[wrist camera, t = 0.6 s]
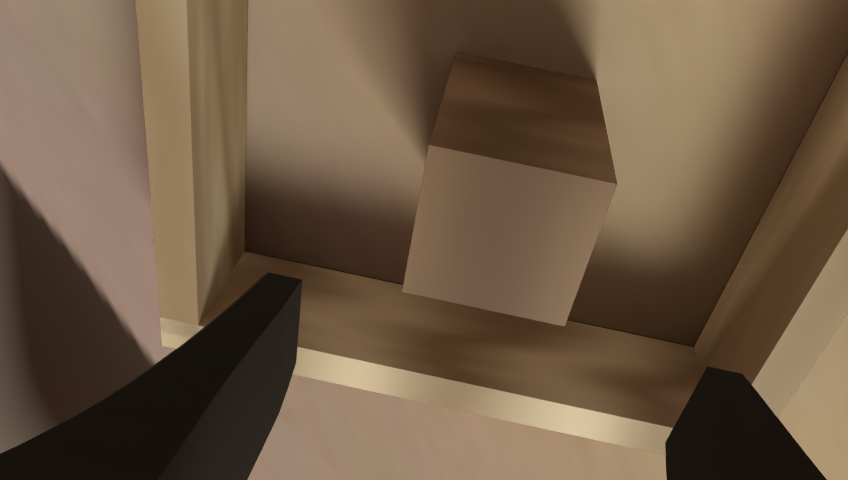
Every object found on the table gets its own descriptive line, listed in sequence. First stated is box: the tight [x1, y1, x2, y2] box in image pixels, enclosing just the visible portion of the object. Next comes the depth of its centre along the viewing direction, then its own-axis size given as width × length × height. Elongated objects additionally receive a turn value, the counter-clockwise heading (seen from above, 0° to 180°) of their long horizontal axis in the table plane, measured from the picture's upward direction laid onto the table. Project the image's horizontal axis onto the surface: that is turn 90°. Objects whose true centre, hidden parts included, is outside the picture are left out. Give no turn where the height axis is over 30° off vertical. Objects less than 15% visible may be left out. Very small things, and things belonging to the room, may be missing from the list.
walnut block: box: [402, 52, 617, 326], centre depth 18 cm, size 4×4×6 cm
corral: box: [135, 0, 848, 455], centre depth 19 cm, size 18×14×4 cm
